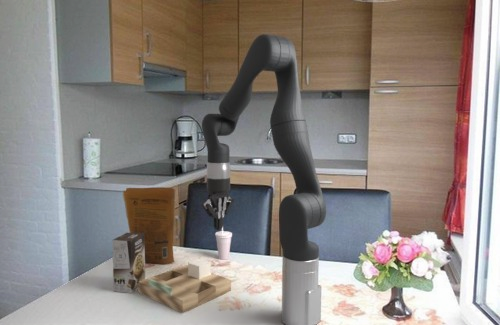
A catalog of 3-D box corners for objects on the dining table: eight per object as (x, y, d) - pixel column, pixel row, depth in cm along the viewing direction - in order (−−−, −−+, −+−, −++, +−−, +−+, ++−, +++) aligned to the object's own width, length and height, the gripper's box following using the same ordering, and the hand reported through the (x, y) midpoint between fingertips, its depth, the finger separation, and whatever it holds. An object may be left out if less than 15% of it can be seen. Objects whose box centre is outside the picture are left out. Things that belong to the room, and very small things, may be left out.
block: (211, 274, 127) (210, 262, 126) (199, 279, 123) (199, 266, 122) (200, 270, 130) (199, 258, 129) (188, 275, 126) (188, 262, 126)
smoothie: (212, 256, 154) (212, 220, 152) (228, 254, 156) (228, 219, 155) (218, 262, 148) (218, 224, 147) (234, 259, 151) (234, 223, 149)
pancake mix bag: (173, 267, 143) (172, 188, 140) (123, 263, 146) (121, 187, 143) (180, 260, 149) (179, 185, 147) (132, 257, 153) (130, 184, 150)
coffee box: (132, 293, 121) (131, 240, 119) (112, 291, 122) (111, 239, 120) (146, 281, 130) (145, 232, 128) (127, 280, 131) (126, 231, 129)
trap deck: (230, 290, 123) (230, 273, 122) (182, 313, 108) (182, 293, 108) (186, 274, 136) (186, 258, 135) (138, 292, 121) (138, 275, 121)
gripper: (212, 179, 122) (212, 235, 124) (240, 175, 132) (240, 227, 134) (195, 177, 127) (195, 231, 129) (224, 173, 137) (224, 223, 139)
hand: (218, 228), depth 132 cm, fingers closed
